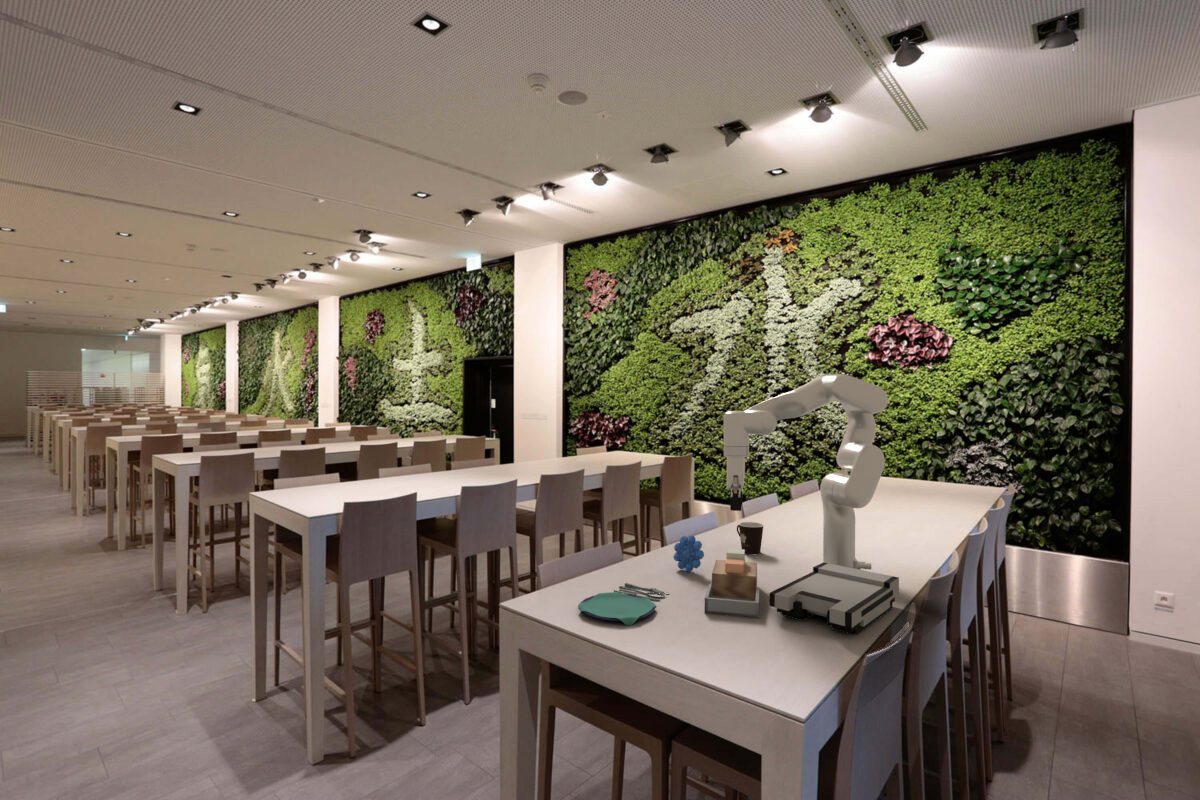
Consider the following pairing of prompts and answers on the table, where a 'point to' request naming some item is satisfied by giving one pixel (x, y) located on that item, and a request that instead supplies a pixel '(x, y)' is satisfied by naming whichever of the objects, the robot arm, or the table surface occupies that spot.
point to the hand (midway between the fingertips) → (736, 507)
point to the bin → (731, 605)
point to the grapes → (688, 553)
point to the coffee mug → (750, 536)
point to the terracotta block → (734, 566)
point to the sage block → (736, 554)
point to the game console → (838, 596)
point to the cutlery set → (621, 605)
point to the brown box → (734, 581)
